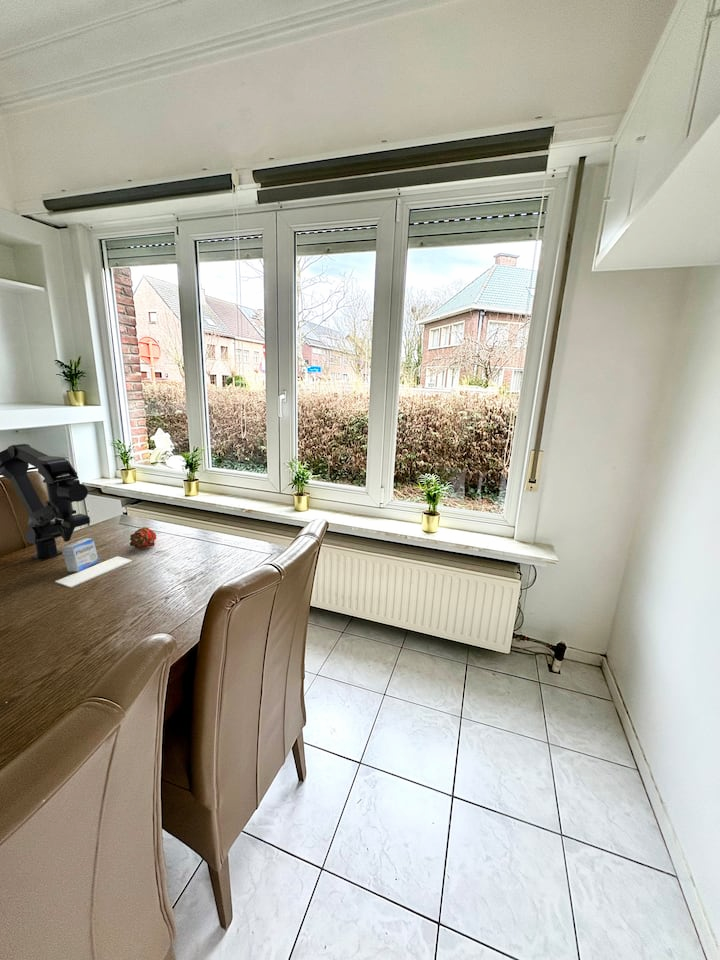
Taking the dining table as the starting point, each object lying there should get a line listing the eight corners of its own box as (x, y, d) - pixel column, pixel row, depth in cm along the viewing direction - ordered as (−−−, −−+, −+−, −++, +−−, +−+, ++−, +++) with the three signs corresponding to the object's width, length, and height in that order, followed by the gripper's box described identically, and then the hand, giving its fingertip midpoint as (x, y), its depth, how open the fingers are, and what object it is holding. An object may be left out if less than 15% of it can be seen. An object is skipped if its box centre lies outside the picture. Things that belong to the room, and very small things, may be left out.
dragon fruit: (140, 558, 138) (144, 550, 149) (160, 542, 140) (162, 535, 151) (122, 542, 135) (127, 534, 146) (143, 526, 138) (146, 520, 148)
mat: (55, 582, 117) (55, 581, 117) (117, 557, 135) (117, 556, 135) (70, 587, 114) (70, 586, 114) (132, 561, 132) (132, 560, 132)
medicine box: (78, 572, 123) (72, 547, 121) (67, 572, 124) (60, 547, 122) (99, 561, 130) (93, 538, 128) (88, 561, 131) (82, 538, 129)
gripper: (13, 498, 120) (22, 544, 124) (49, 508, 113) (57, 556, 117) (52, 490, 130) (59, 533, 134) (88, 498, 123) (94, 543, 127)
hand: (66, 541), depth 128 cm, fingers closed
